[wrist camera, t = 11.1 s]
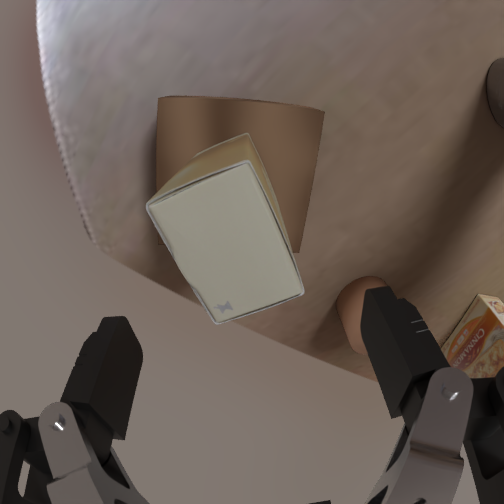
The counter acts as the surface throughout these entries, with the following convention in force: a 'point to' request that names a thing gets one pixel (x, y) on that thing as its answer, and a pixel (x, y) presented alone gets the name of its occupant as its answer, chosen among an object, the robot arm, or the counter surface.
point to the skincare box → (227, 231)
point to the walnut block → (262, 135)
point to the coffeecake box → (478, 339)
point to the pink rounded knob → (355, 309)
